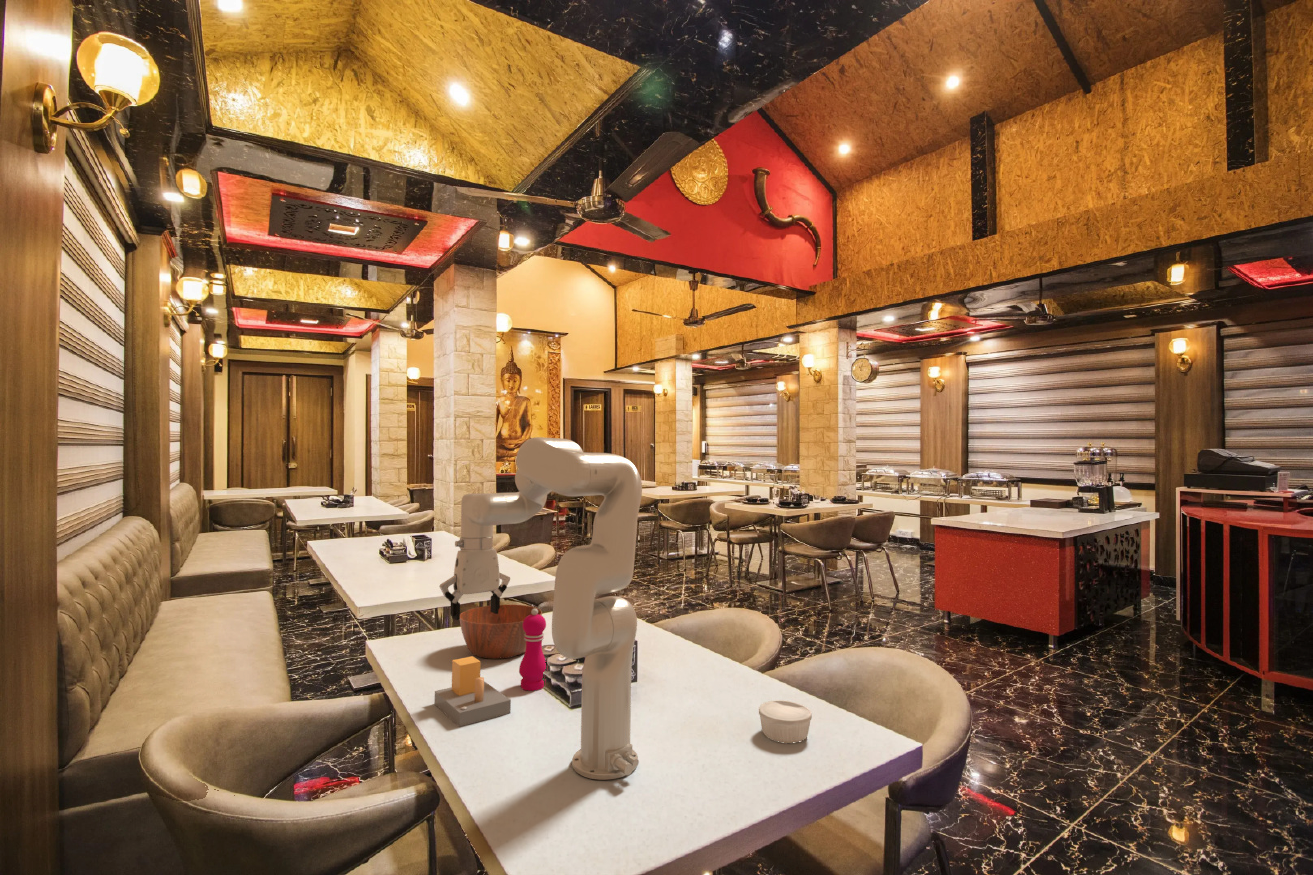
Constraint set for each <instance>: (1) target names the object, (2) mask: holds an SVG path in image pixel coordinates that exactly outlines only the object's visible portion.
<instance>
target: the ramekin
mask: <svg viewBox="0 0 1313 875" xmlns="http://www.w3.org/2000/svg"><path fill="white" fill-rule="evenodd" d="M758 715H759V717H760V718H759V719H760V727H761V731H762V733H763V734H764V735H765V737H766V738H768V737H769V738H770V739H769V738H768V739H769V740H771V739H772V740H771V741H773V740H775V741H774V742H776V741H779V742H778V743H780V742H784V743H783V744H787V743H793V742H799V741H802V740H803V741H805V740H806V739H807V737H808V734H809V731H810V730H809V729H810V724H811V720H812V718H813V716H812V715H813V713H812V711H811V709H809V708H808V707H807V706H805V705H803V704H800V703H797V702H793V701H788V700H770V701H766V702H763V703H761V704H760V705H759V706H758ZM804 739H805V740H804ZM803 741H802V742H803ZM799 743H800V742H799Z"/></svg>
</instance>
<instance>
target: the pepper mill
mask: <svg viewBox="0 0 1313 875" xmlns="http://www.w3.org/2000/svg"><path fill="white" fill-rule="evenodd" d="M535 608H536V607H535ZM535 608H534V609H532V611H531V613H532V615H529V616H527V617H526V618H525V619H524V621H523V630H524V631H525V632H526V633H525V634H524V636H525V638H524V639H525V640H526V651H525V652H524V653H523V657H522V659H521V661H520V664H519V667H518V669H519V670H518V672H519V675H520V676H521V677H522V678H520V688H521V690H523V689H524V690H523V691H527V690H528V691H529V692H531V691H532V692H535V691H539V689H540V690H542V689H544V688H545V687H544V681H543V680H542V678H543V672H544V671H545V669H546V663H545V662H547V660H546V661H545V659H546V658H545V657H546V656H545V655H544V652H543V644H542V643H543V641H544V639H545V637H544V636H545V633H544V631H545V630H546V628H547V622H546V618H545V617H544V616H543V615H542V616H541V615H539V614H538V610H537V609H535ZM543 687H544V688H543ZM534 690H535V691H534Z"/></svg>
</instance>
